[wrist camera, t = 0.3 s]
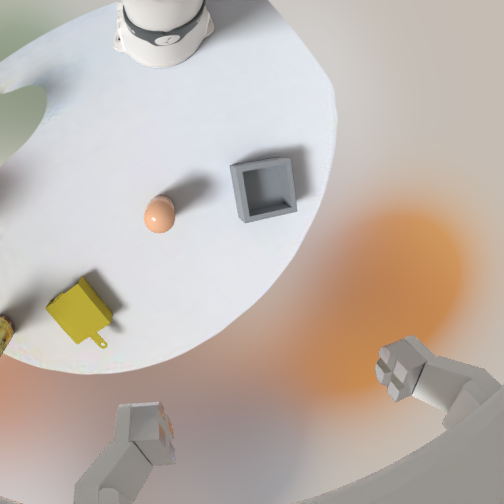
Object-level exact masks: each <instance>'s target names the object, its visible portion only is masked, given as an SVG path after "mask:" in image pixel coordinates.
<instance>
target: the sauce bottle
mask: <svg viewBox="0 0 504 504" xmlns="http://www.w3.org/2000/svg"><path fill="white" fill-rule="evenodd" d="M13 334H14V326H13V324H12V322H11V321H10V320H9V319H8V318H7V317H6V316H3V315H0V356H1V355H2V353H3V351H4V350H5V348H6V347H7V345H8V343H9V342H10V340H11V339H12V337H13Z"/></svg>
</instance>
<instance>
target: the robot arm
mask: <svg viewBox="0 0 504 504" xmlns="http://www.w3.org/2000/svg"><path fill="white" fill-rule="evenodd" d="M117 11H118V12H119V13H118V18H117V24H116V30H115V36H114V43H113V46H114V49H115V50H116V51H119V52H122V53H126V54H128V55H129V56H130V57H132V58H133V59H134V60H135V61H136V62H138V63H140V64H142V65H144V66H148V67H153V68H164V67H170V66H174V65H177V64H179V63H181V62H183V61H185V60H186V59H188V58H189V57H190V56H191V55H192V54H193V53H194V52H195V51H196V50H197V49H198V47H199V45H200V44H201V42H202V40H203V39H204V38H206V37H207V36H209V35H210V34H211V33H212V32H213V31H214V27H215V26H214V23H213V21H212V19H211V17H210V13H209V12H208V10H207V8H206V5H205V0H121V1H118V3H117ZM119 39H121V40H120V41H119ZM378 355H379V356H380V359H379V360H378V361H377V363H376V366H375V373H376V376H377V379H378V381H379V382H380V383H381V384H382V385H385V386H387V392H388V393H389V395H390V396H391V397H392V399H393V400H394V401H395V402H398V401H400V400H402V399H404V398H406V397H408V396H410V395H412V396H414V397H416V398H418V399H420V400H422V401H424V402H426V403H428V404H430V405H432V406H435V407H437V408H439V409H441V410H443V411H445V412H447V415H446V416H445V418H444V419H443V422H442V424H443V425H444V427H445V428H446V429H447V431H446V432H444V433H443V434H441V435H440V436H438V437H437V438H435V439H434V440H432V441H430V442H429V443H427V444H426V445H424V446H423V447H421V448H420V449H418V450H416V451H414V452H412V453H411V454H409V455H407V456H405V457H404V458H402V459H400V460H398V461H396V462H395V463H393V464H391V465H389V466H387V467H385V468H383V469H381V470H379V471H377V472H375V473H373V474H371V475H368V476H366V477H364V478H362V479H359V480H357V481H355V482H353V483H350V484H348V485H345V486H343V487H340V488H338V489H335V490H332V491H330V492H327V493H324V494H321V495H319V496H316V497H312V498H309V499H306V500H303V501H300V502H297V503H293V504H504V385H503V386H502V385H501V384H500V383H499V382H498V381H497V380H496V379H494V378H493V377H492V376H491V375H490V374H489V373H488V372H487V371H486V370H485V369H482V368H479V367H475V366H472V365H469V364H465V363H462V362H458V361H455V360H451V359H448V358H445V357H441V356H438V357H436V356H435V355H434V354H433V353H432V352H431V351H430V350H429V349H428V348H427V347H426V346H425V345H424V344H423V343H422V342H421V341H419V340H418V339H417V338H416V337H415V336H413V335H410V336H408V337H406V338H403V339H400V340H398V341H396V342H393V343H391V344H388V345H386V346H383V347H381V349H380V350H379V354H378ZM173 439H174V436H173V429H172V424H171V421H170V419H169V417H168V415H167V414H165V413H164V406H163V405H162V403H161V402H152V403H138V404H137V403H136V404H120V405H119V406H118V408H117V416H116V426H115V435H114V442H110V443H109V444H108V445H107V447H106V448H105V449H104V450H103V451H102V453H101V454H100V455H99V456H98V458H97V459H96V460H95V461H94V462H93V463H92V465H91V466H90V467H89V468H88V469H87V471H86V472H85V473H84V474H83V475H82V477H81V478H80V479H79V480H78V481H77V482H76V484H75V491H74V504H134V501H135V499H136V497H137V495H138V494H139V492H140V490H141V489H142V487H143V485H144V483H145V481H146V480H147V478H148V476H149V474H150V473H151V471H152V469H153V466H161V465H171V464H176V459H175V449H174V447H173V445H172V444H171V442H172V440H173ZM0 504H22V503H19V502H16V501H13V500H10V499H7V498H5V497H2V496H0Z"/></svg>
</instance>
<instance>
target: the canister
mask: <svg viewBox="0 0 504 504" xmlns="http://www.w3.org/2000/svg"><path fill="white" fill-rule="evenodd" d="M144 221H145V224H146V226H147V228H148V229H149V230H151V231H152V232H155V233H164V232H166V231H168V230H169V229H170V228H171V227H172V226H173V224H174V221H175V212H174V205H173V202H172V201H171V199H169V198H168V197H166V196H162V195H161V196H156V197H154V198H153V199H151V201H150V202H149V204H148V206H147V209H146V211H145V214H144Z"/></svg>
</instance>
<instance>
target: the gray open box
mask: <svg viewBox="0 0 504 504" xmlns="http://www.w3.org/2000/svg"><path fill="white" fill-rule="evenodd" d="M230 170H231V176H232V182H233V187H234V193H235V199H236V204H237V210H238V216H239V218H240V219H241V220H242V221H243V222H244V223H249V222H253V221H257V220H262V219H266V218H270V217H275V216H279V215H284V214H288V213H293V212H297V204H296V196H295V188H294V180H293V173H292V165H291V158H287V157H277V158H270V159H264V160H259V161H253V162H247V163H242V164H236V165H231V166H230Z"/></svg>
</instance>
